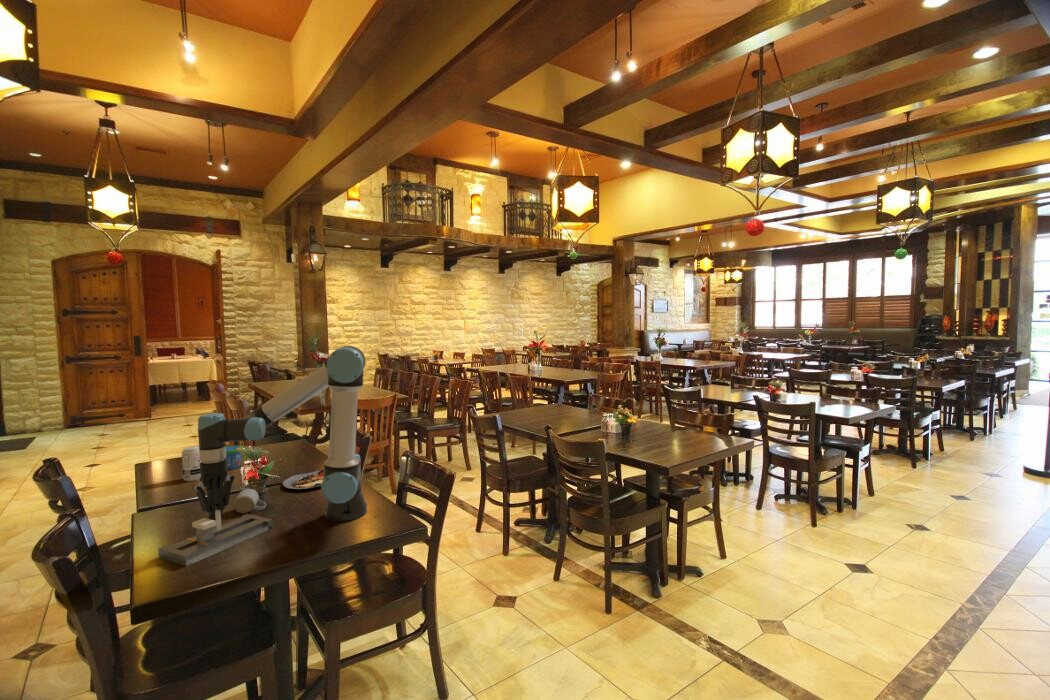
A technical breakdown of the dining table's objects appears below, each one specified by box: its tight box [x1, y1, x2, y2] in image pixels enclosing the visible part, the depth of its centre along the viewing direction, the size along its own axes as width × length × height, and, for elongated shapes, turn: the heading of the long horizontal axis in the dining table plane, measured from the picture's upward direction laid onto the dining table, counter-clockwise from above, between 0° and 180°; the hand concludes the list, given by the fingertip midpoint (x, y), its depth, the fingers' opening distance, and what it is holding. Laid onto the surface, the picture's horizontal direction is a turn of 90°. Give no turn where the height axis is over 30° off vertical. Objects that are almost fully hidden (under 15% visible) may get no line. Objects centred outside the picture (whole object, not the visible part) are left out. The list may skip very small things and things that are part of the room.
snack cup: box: [225, 445, 244, 470], centre depth 251 cm, size 16×10×10 cm
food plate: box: [282, 469, 324, 491], centre depth 226 cm, size 25×23×4 cm
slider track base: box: [157, 513, 274, 567], centre depth 166 cm, size 30×14×3 cm, turn 155°
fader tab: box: [191, 517, 216, 544], centre depth 162 cm, size 4×6×7 cm, turn 65°
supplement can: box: [181, 445, 201, 482], centre depth 234 cm, size 8×8×15 cm
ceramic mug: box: [233, 488, 267, 515], centre depth 194 cm, size 11×8×8 cm
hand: (216, 529), depth 166 cm, fingers closed
